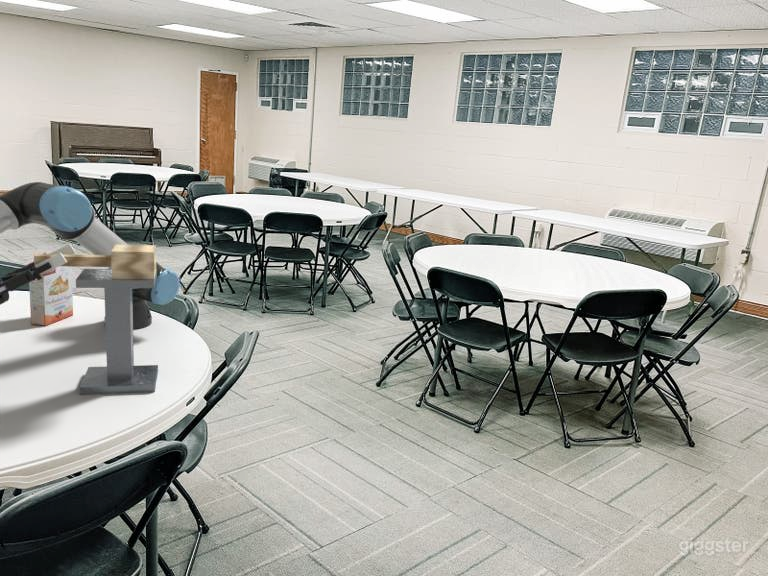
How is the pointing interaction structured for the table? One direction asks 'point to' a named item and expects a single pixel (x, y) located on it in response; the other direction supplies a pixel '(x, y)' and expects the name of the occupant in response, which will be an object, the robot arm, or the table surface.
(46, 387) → the table surface
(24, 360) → the table surface
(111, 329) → the stand
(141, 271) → the mallet
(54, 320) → the cracker box
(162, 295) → the robot arm
